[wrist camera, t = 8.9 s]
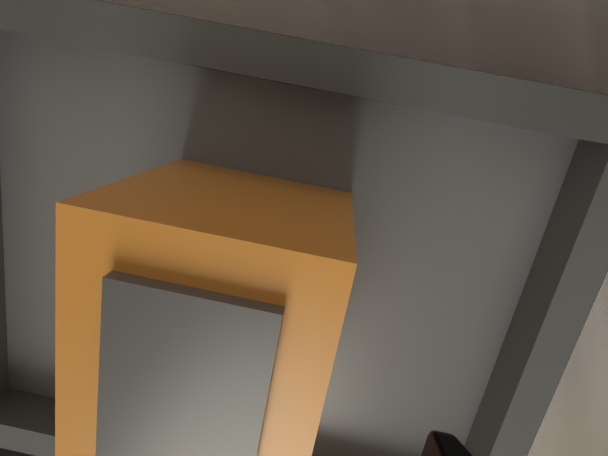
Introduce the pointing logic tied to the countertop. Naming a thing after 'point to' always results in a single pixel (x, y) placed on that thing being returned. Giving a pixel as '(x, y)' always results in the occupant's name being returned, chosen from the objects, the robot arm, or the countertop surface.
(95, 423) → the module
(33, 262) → the case lid
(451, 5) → the countertop surface
